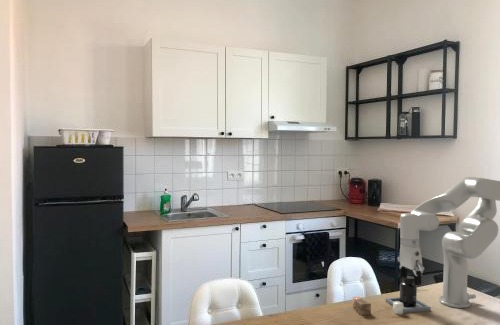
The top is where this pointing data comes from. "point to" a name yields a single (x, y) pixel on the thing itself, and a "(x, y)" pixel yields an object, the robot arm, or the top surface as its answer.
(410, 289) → the supplement bottle
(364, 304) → the walnut block
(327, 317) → the top surface
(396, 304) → the white egg
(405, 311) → the tray
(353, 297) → the peach rounded dome
